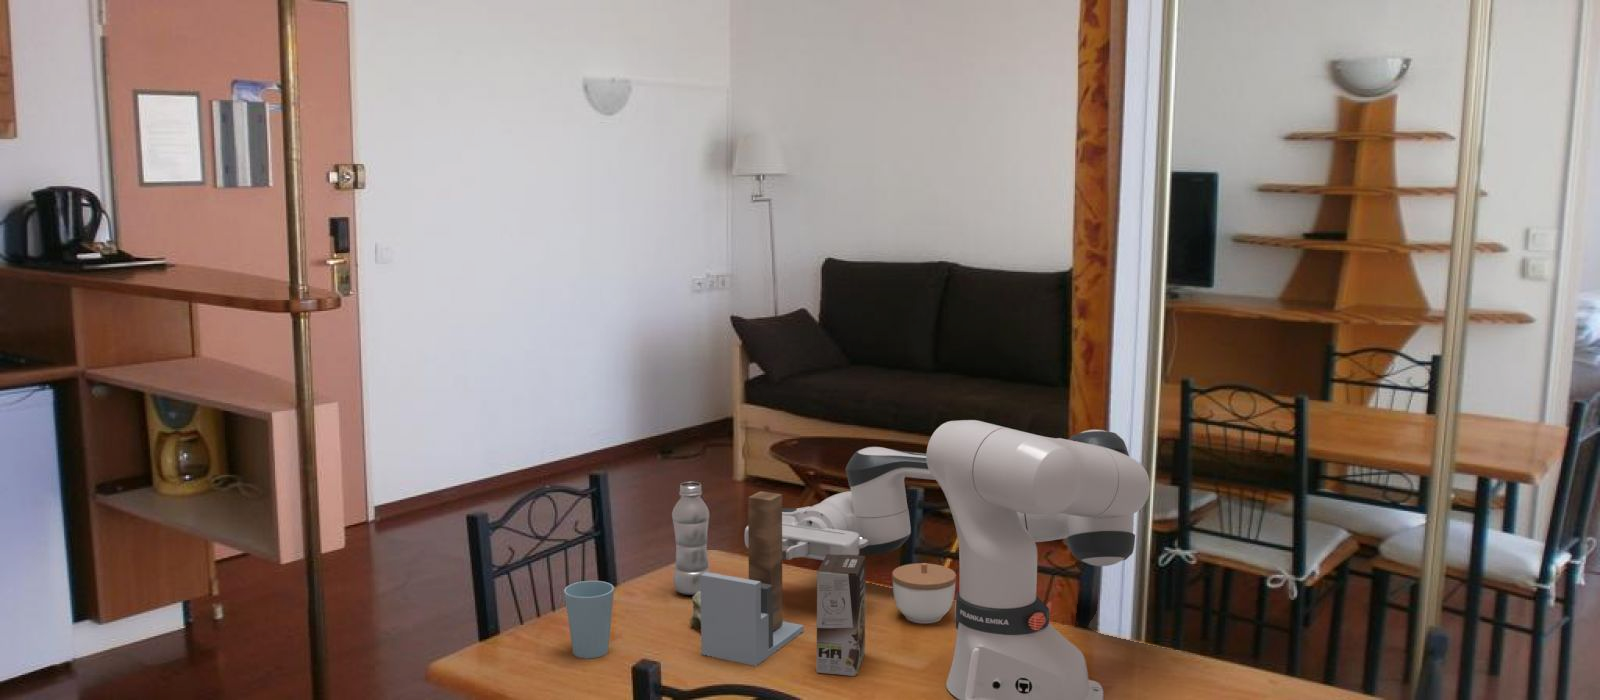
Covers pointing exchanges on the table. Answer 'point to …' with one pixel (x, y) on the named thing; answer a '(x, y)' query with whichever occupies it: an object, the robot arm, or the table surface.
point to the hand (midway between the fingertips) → (781, 554)
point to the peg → (766, 545)
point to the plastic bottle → (690, 538)
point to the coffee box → (840, 614)
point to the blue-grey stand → (740, 620)
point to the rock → (696, 611)
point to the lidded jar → (923, 591)
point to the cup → (589, 617)
